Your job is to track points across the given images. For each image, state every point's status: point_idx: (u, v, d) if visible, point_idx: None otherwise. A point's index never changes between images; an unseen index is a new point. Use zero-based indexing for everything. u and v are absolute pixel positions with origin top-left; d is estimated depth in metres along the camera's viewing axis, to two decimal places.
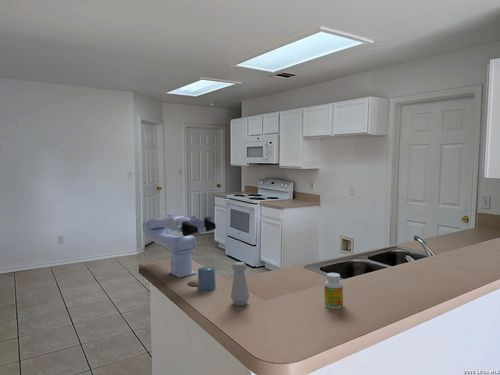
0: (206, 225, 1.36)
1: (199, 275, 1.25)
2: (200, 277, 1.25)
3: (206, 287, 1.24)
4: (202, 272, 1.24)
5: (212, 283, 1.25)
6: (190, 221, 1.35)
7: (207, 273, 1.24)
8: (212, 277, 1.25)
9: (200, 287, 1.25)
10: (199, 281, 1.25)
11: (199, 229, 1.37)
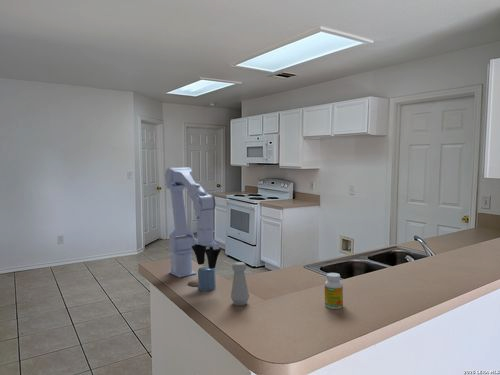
0: None
1: (199, 275, 1.25)
2: (200, 277, 1.25)
3: (206, 287, 1.24)
4: (202, 272, 1.24)
5: (212, 283, 1.25)
6: None
7: (207, 273, 1.24)
8: (212, 277, 1.25)
9: (200, 287, 1.25)
10: (199, 281, 1.25)
11: None
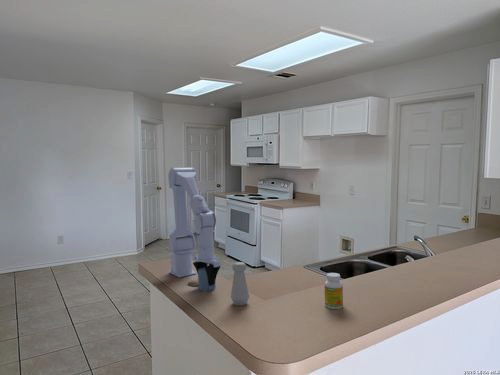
0: None
1: (199, 275, 1.25)
2: (200, 277, 1.25)
3: (206, 287, 1.24)
4: (202, 272, 1.24)
5: None
6: None
7: None
8: None
9: (200, 287, 1.25)
10: (199, 281, 1.25)
11: None
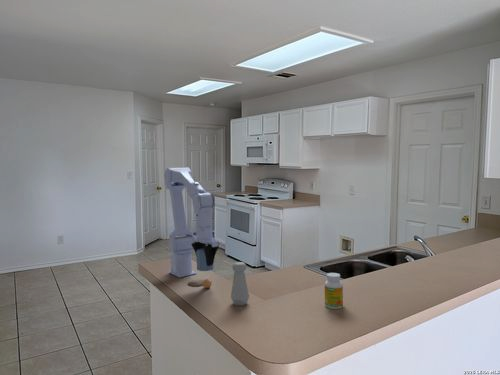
0: None
1: (197, 255, 1.25)
2: (198, 257, 1.25)
3: (204, 268, 1.24)
4: (200, 252, 1.24)
5: None
6: None
7: None
8: None
9: (198, 267, 1.25)
10: (197, 262, 1.26)
11: None
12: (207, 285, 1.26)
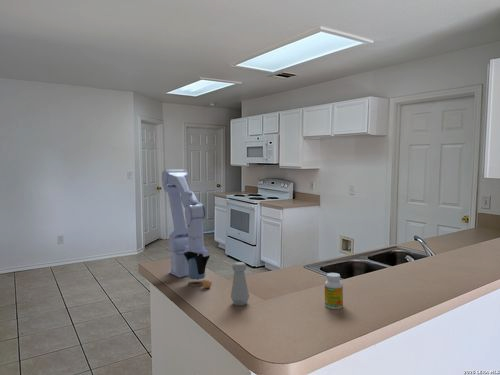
0: None
1: (189, 264, 1.31)
2: (190, 266, 1.30)
3: (196, 276, 1.29)
4: (192, 262, 1.29)
5: None
6: None
7: None
8: None
9: (190, 276, 1.30)
10: (189, 270, 1.31)
11: None
12: (207, 285, 1.26)
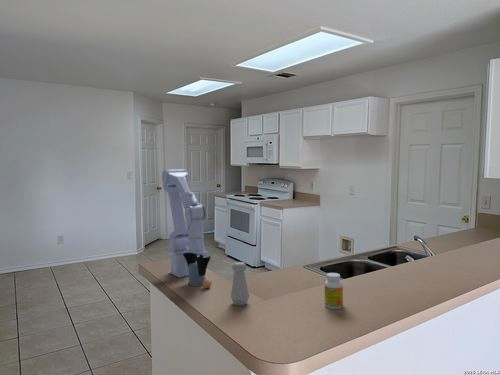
0: None
1: (189, 270, 1.31)
2: (190, 272, 1.30)
3: (196, 282, 1.30)
4: (192, 267, 1.30)
5: (202, 278, 1.30)
6: None
7: (197, 268, 1.29)
8: None
9: (190, 281, 1.31)
10: (189, 276, 1.31)
11: None
12: (207, 285, 1.26)
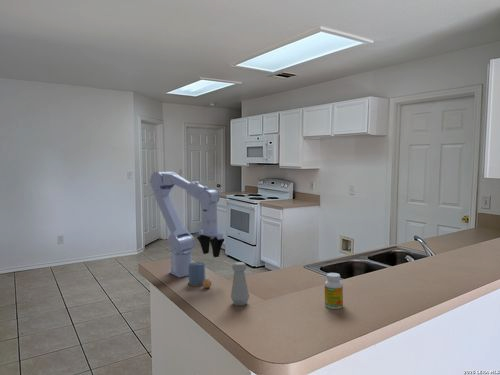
0: None
1: (189, 270, 1.31)
2: (190, 272, 1.30)
3: (196, 282, 1.30)
4: (192, 267, 1.30)
5: (202, 278, 1.30)
6: None
7: (197, 268, 1.29)
8: (202, 272, 1.30)
9: (190, 281, 1.31)
10: (189, 276, 1.31)
11: None
12: (207, 285, 1.26)
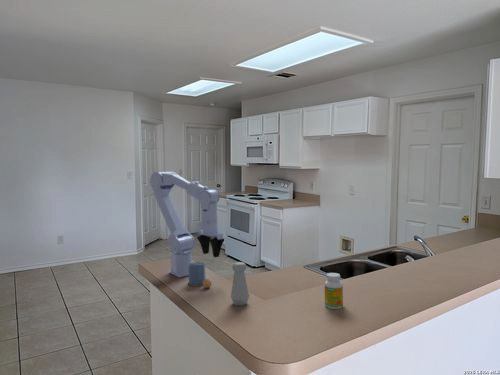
0: None
1: (189, 270, 1.31)
2: (190, 272, 1.30)
3: (196, 282, 1.30)
4: (192, 267, 1.30)
5: (202, 278, 1.30)
6: None
7: (197, 268, 1.29)
8: (202, 272, 1.30)
9: (190, 281, 1.31)
10: (189, 276, 1.31)
11: None
12: (207, 285, 1.26)
